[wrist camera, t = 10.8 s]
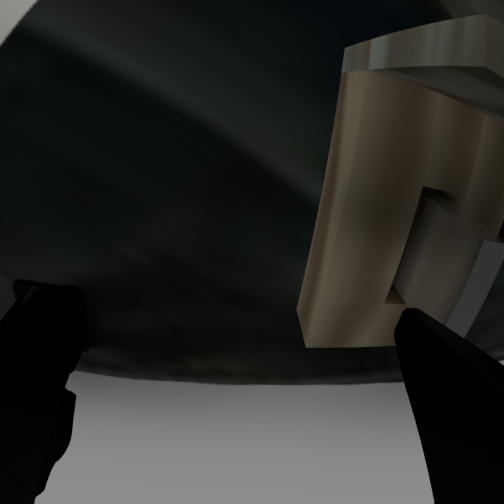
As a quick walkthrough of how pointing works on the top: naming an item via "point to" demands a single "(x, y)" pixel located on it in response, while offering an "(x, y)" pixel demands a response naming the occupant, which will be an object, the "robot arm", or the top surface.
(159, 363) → the top surface
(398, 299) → the post base
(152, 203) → the top surface
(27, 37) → the top surface
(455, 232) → the bracket plate
